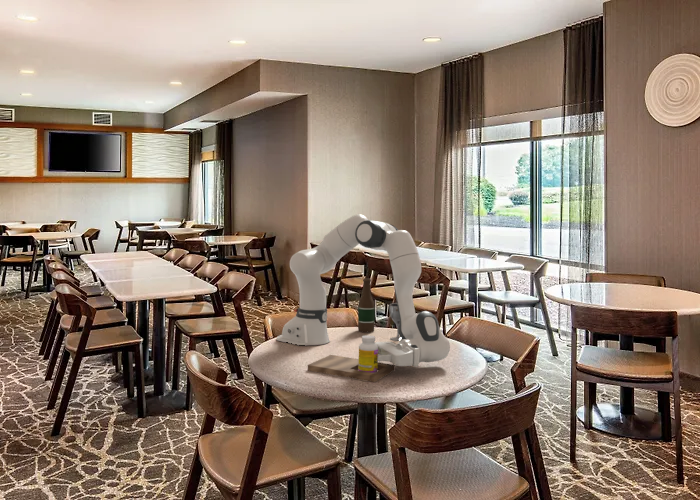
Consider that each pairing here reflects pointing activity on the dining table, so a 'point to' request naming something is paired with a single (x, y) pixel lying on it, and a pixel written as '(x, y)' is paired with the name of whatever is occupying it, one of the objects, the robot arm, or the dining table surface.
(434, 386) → the dining table surface
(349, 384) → the dining table surface
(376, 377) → the caddy board
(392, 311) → the wine glass
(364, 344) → the supplement bottle
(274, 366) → the dining table surface
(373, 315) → the beer bottle
